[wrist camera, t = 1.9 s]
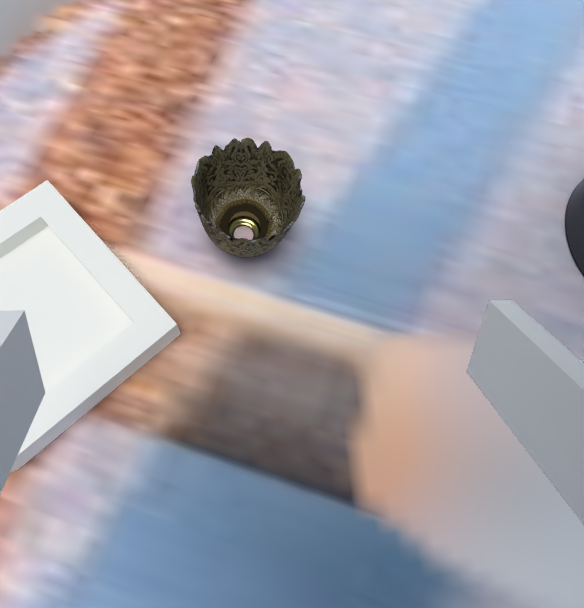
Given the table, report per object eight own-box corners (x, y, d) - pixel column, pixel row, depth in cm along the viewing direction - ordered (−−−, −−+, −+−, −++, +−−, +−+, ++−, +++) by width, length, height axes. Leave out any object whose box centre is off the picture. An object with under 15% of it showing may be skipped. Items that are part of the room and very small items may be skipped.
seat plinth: (63, 202, 36) (47, 180, 33) (181, 334, 35) (176, 324, 32) (-109, 318, 32) (-146, 305, 29) (17, 470, 31) (-7, 475, 28)
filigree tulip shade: (194, 194, 38) (188, 136, 31) (283, 192, 39) (298, 135, 32) (200, 281, 36) (194, 242, 29) (292, 275, 38) (311, 236, 30)
